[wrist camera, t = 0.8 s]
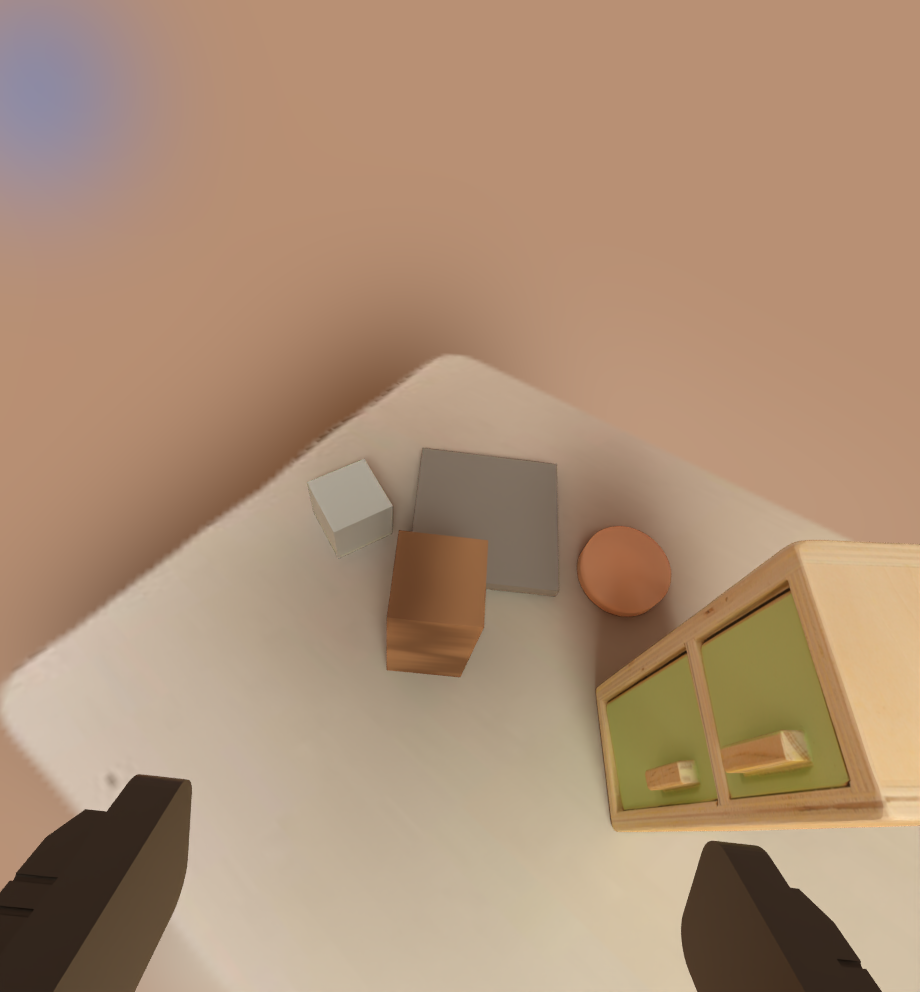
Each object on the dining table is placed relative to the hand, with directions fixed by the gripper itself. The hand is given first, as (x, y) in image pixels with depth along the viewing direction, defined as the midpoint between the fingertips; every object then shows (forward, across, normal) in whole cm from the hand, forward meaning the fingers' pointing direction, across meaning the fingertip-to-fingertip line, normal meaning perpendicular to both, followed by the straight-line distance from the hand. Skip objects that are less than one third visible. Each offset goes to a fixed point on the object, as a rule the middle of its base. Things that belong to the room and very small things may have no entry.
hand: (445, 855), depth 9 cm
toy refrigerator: (+22, -14, +14) cm, 30 cm away
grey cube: (+31, +6, +4) cm, 32 cm away
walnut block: (+26, 0, +10) cm, 28 cm away
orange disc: (+30, -13, +5) cm, 33 cm away
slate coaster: (+32, -3, +3) cm, 32 cm away
